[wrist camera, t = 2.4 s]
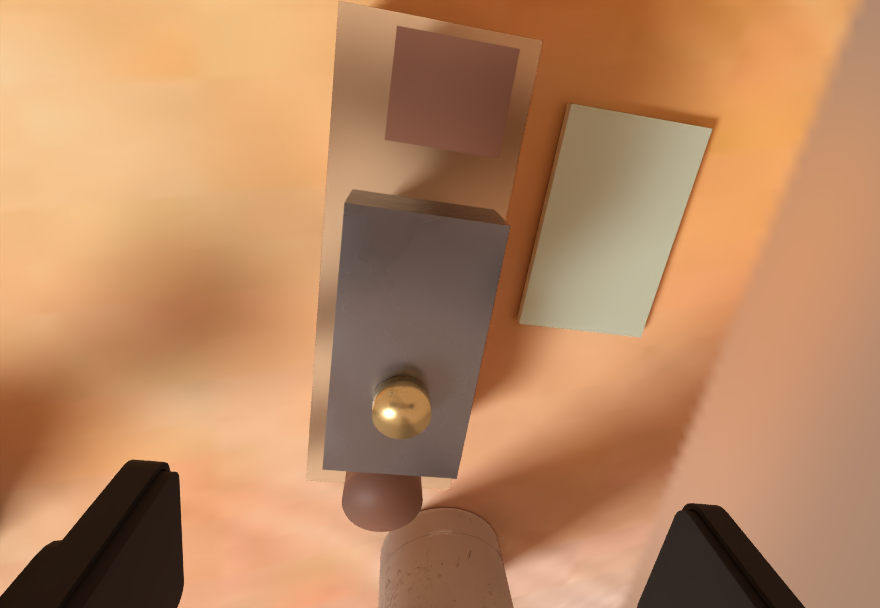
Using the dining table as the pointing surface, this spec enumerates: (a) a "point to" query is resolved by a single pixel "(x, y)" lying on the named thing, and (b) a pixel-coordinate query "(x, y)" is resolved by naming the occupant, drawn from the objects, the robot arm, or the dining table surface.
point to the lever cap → (409, 332)
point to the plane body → (411, 173)
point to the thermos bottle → (443, 563)
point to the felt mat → (609, 219)
